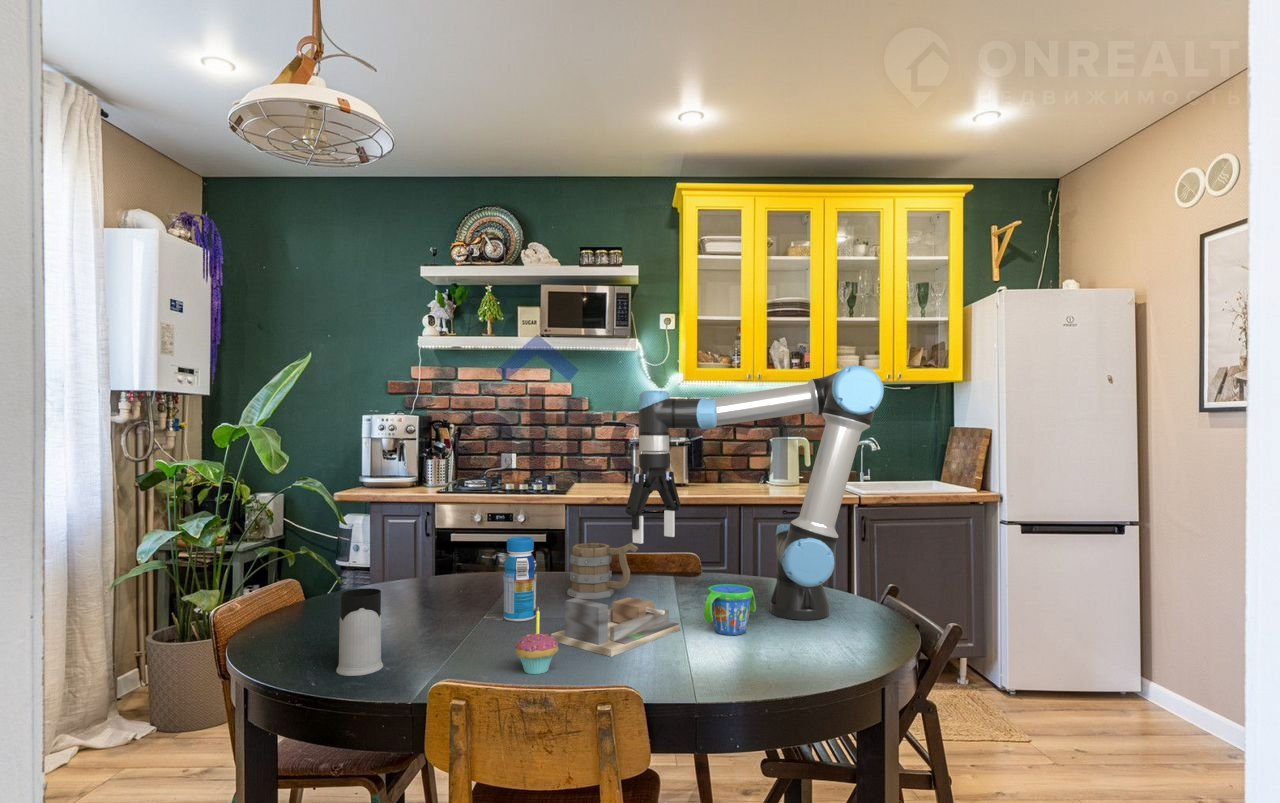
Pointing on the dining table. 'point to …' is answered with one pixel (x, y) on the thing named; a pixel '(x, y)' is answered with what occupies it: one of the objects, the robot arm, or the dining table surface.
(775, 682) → the dining table surface
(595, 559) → the tankard
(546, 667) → the cupcake
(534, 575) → the beverage bottle
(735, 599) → the snack cup
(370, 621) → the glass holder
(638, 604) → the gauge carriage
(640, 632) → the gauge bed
